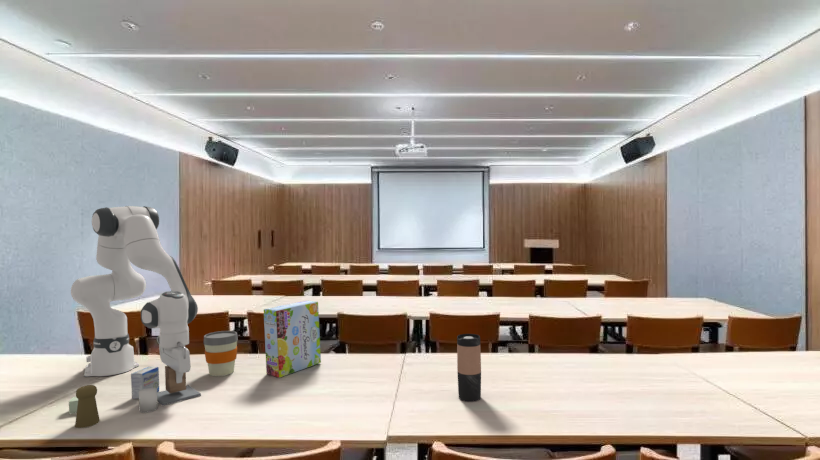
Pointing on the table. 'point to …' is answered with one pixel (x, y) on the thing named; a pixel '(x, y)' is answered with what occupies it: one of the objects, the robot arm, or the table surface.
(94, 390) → the cork
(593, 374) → the table surface
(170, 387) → the walnut block
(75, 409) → the sage green block
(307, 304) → the snack box
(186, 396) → the slate mat
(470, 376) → the travel mug
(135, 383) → the medicine box
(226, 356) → the reusable coffee cup
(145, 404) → the white smooth pebble
